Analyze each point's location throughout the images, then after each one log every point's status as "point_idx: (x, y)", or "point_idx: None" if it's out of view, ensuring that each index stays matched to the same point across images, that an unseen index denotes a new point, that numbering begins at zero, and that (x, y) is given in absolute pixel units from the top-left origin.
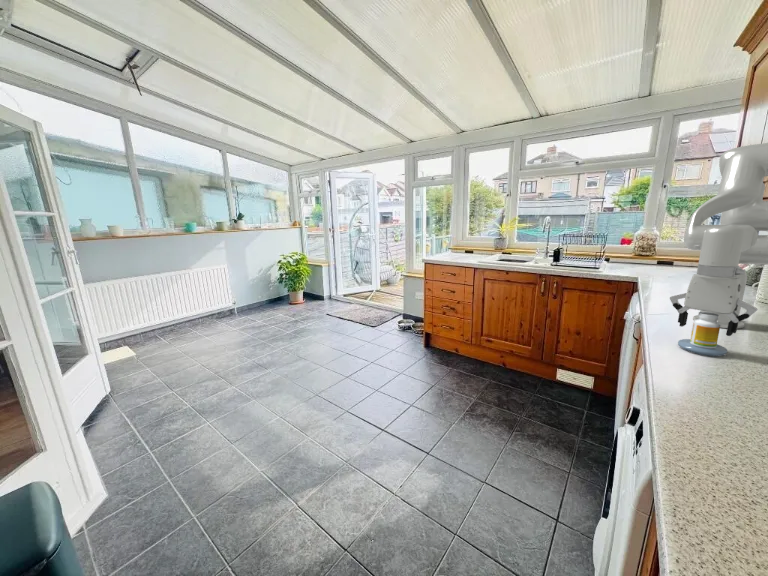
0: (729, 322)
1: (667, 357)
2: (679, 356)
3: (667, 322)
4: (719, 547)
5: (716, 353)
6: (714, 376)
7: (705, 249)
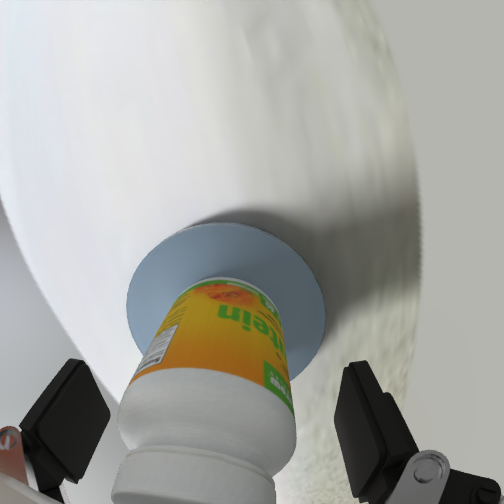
0: (358, 497)
1: None
2: None
3: (24, 6)
4: None
5: (297, 372)
6: (317, 466)
7: None
